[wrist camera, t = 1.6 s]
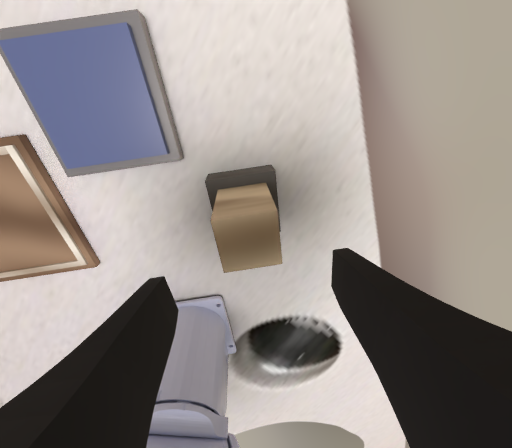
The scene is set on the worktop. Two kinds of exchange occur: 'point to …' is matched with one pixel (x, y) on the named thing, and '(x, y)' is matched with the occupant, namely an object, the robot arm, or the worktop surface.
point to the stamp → (245, 217)
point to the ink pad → (94, 91)
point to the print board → (35, 218)
